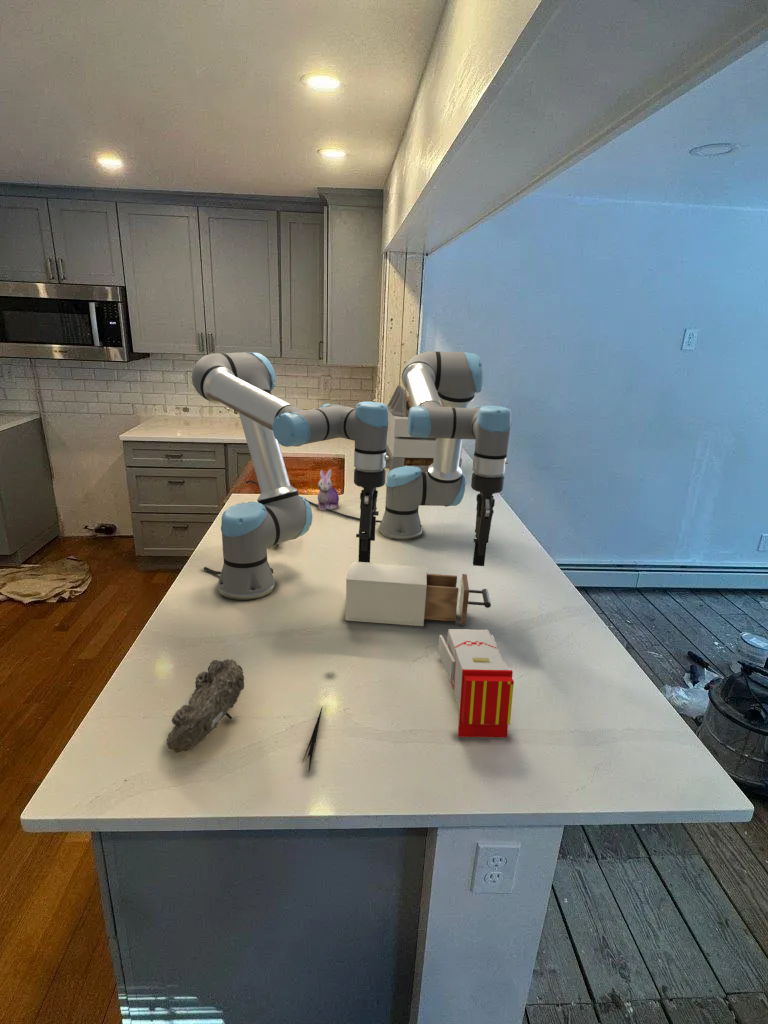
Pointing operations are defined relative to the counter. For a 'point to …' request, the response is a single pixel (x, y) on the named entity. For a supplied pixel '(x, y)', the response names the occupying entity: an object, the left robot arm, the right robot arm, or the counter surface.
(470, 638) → the toy
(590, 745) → the counter surface
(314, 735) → the feather
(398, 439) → the transformer
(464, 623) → the drawer
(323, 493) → the figurine
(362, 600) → the cabinet
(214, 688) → the fossil
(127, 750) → the counter surface
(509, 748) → the counter surface
